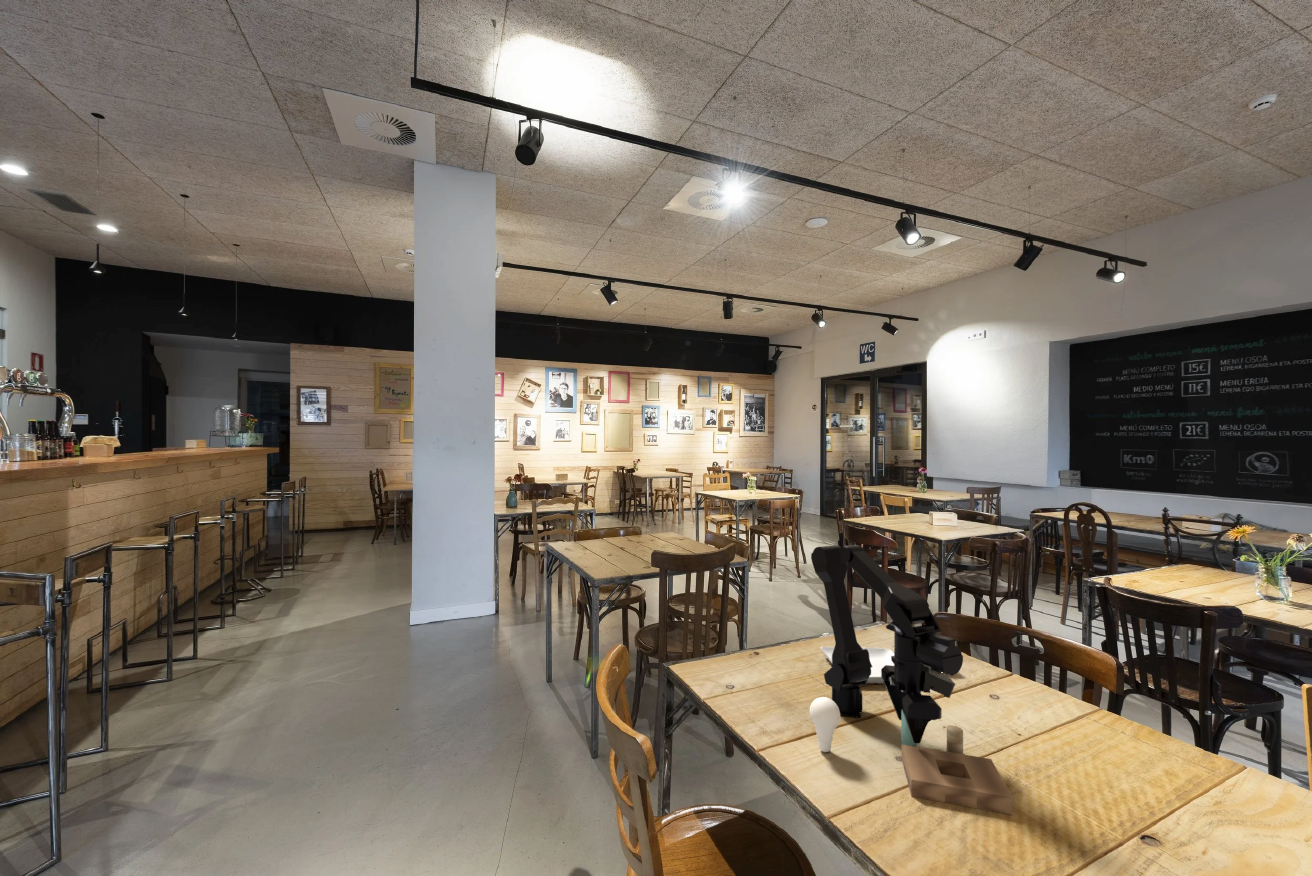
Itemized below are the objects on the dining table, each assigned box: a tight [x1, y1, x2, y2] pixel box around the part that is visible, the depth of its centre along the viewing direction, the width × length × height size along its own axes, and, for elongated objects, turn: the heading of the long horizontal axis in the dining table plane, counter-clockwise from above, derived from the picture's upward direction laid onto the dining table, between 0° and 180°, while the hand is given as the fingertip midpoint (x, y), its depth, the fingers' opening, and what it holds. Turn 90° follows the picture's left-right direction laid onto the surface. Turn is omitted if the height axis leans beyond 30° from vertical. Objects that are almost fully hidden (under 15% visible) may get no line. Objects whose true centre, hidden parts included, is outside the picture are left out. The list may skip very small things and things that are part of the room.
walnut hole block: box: [901, 745, 1013, 816], centre depth 100 cm, size 16×12×3 cm
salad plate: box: [820, 646, 894, 684], centre depth 151 cm, size 21×21×3 cm
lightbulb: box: [809, 696, 841, 753], centre depth 111 cm, size 6×6×11 cm
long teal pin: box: [900, 710, 918, 751], centre depth 111 cm, size 3×3×8 cm
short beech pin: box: [946, 724, 964, 755], centre depth 111 cm, size 3×3×5 cm
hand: (908, 731), depth 112 cm, fingers open, 9 cm apart
